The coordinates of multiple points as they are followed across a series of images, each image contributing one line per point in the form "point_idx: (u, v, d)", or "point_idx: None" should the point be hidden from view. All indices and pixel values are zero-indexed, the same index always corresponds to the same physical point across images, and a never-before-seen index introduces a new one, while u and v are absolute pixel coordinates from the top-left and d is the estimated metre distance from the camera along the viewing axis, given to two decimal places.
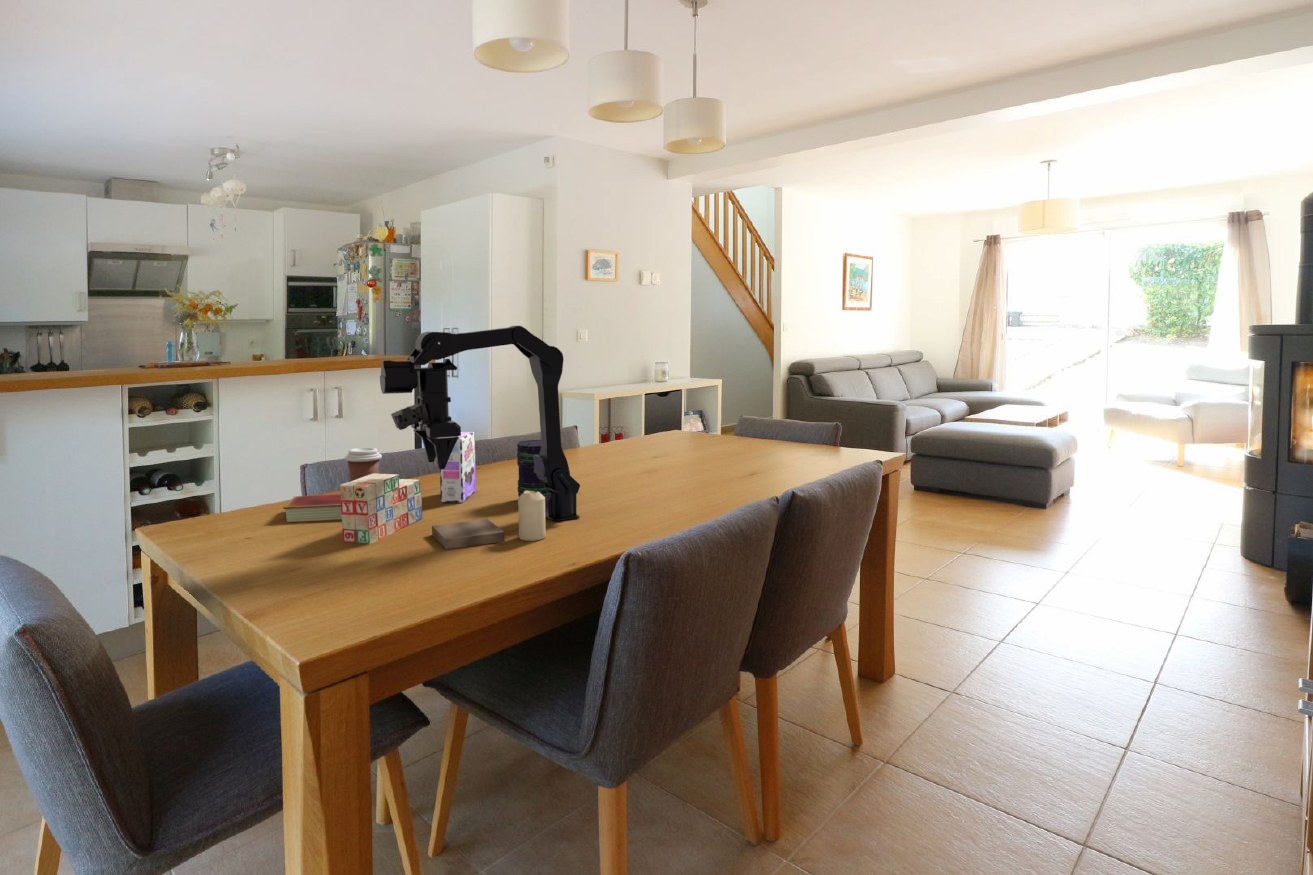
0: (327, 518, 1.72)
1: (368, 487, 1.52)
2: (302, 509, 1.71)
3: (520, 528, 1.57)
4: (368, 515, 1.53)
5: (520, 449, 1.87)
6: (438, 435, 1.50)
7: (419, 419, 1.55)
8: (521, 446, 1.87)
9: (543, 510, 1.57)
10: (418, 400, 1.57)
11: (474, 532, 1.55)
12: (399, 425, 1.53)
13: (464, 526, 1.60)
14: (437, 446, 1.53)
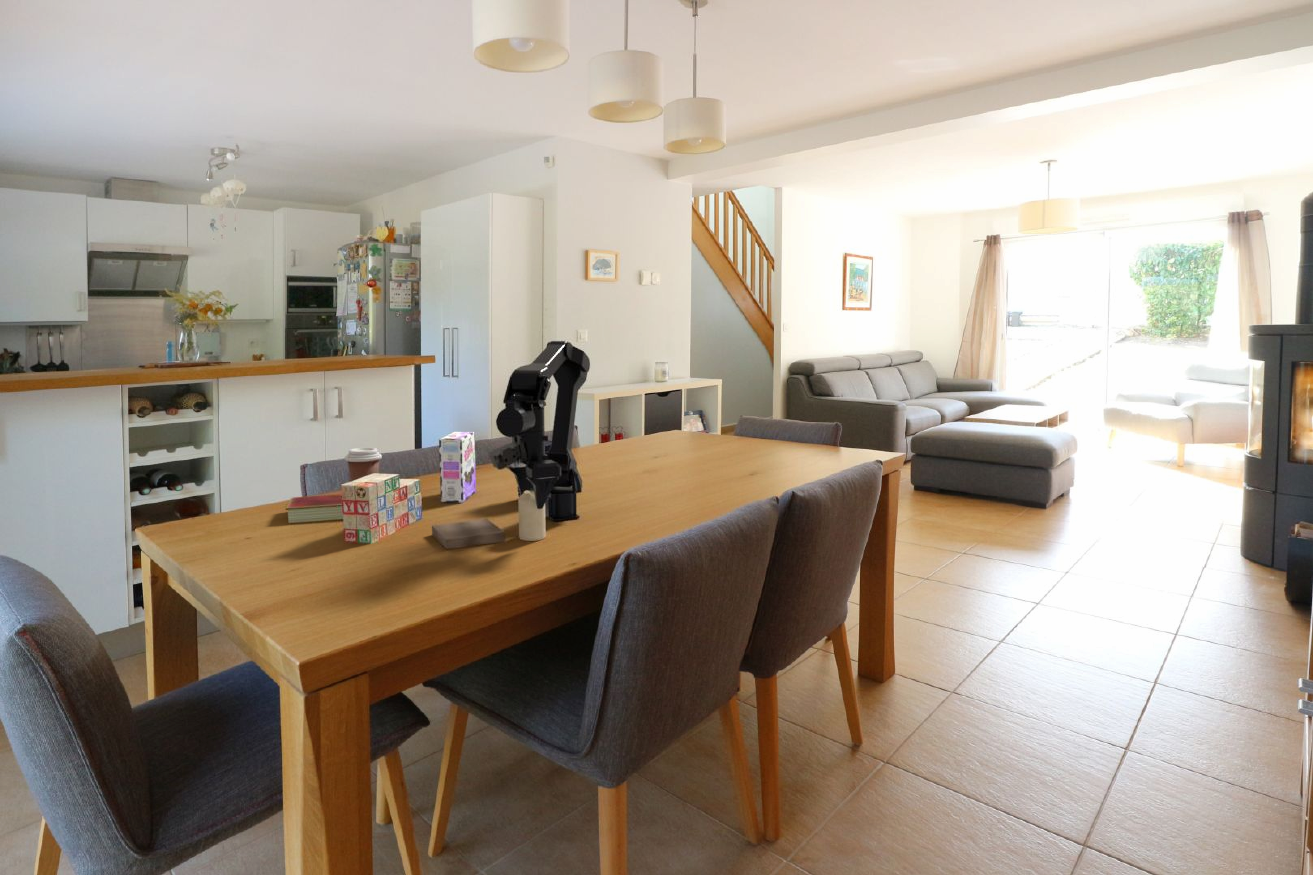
0: (330, 518, 1.72)
1: (369, 487, 1.52)
2: (304, 510, 1.70)
3: (520, 528, 1.57)
4: (369, 514, 1.53)
5: None
6: (540, 476, 1.48)
7: (517, 458, 1.53)
8: None
9: (543, 510, 1.57)
10: (515, 438, 1.55)
11: (474, 532, 1.55)
12: (498, 465, 1.51)
13: (464, 526, 1.60)
14: (537, 486, 1.51)
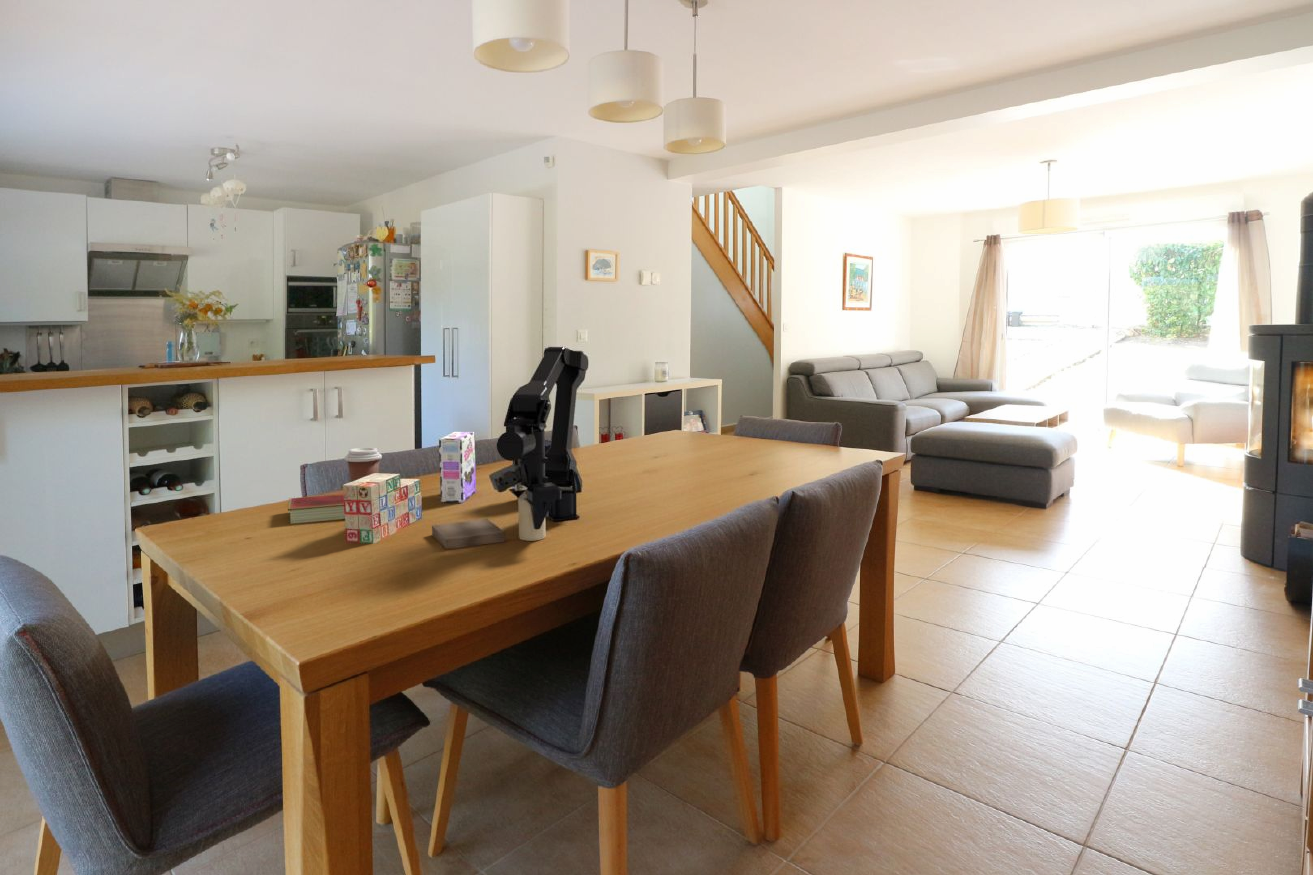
0: (332, 518, 1.72)
1: (372, 487, 1.53)
2: (306, 510, 1.70)
3: (520, 528, 1.57)
4: (371, 514, 1.53)
5: None
6: (540, 499, 1.49)
7: (518, 481, 1.53)
8: None
9: None
10: (515, 461, 1.56)
11: (474, 532, 1.55)
12: (499, 488, 1.52)
13: (464, 526, 1.60)
14: (534, 507, 1.53)
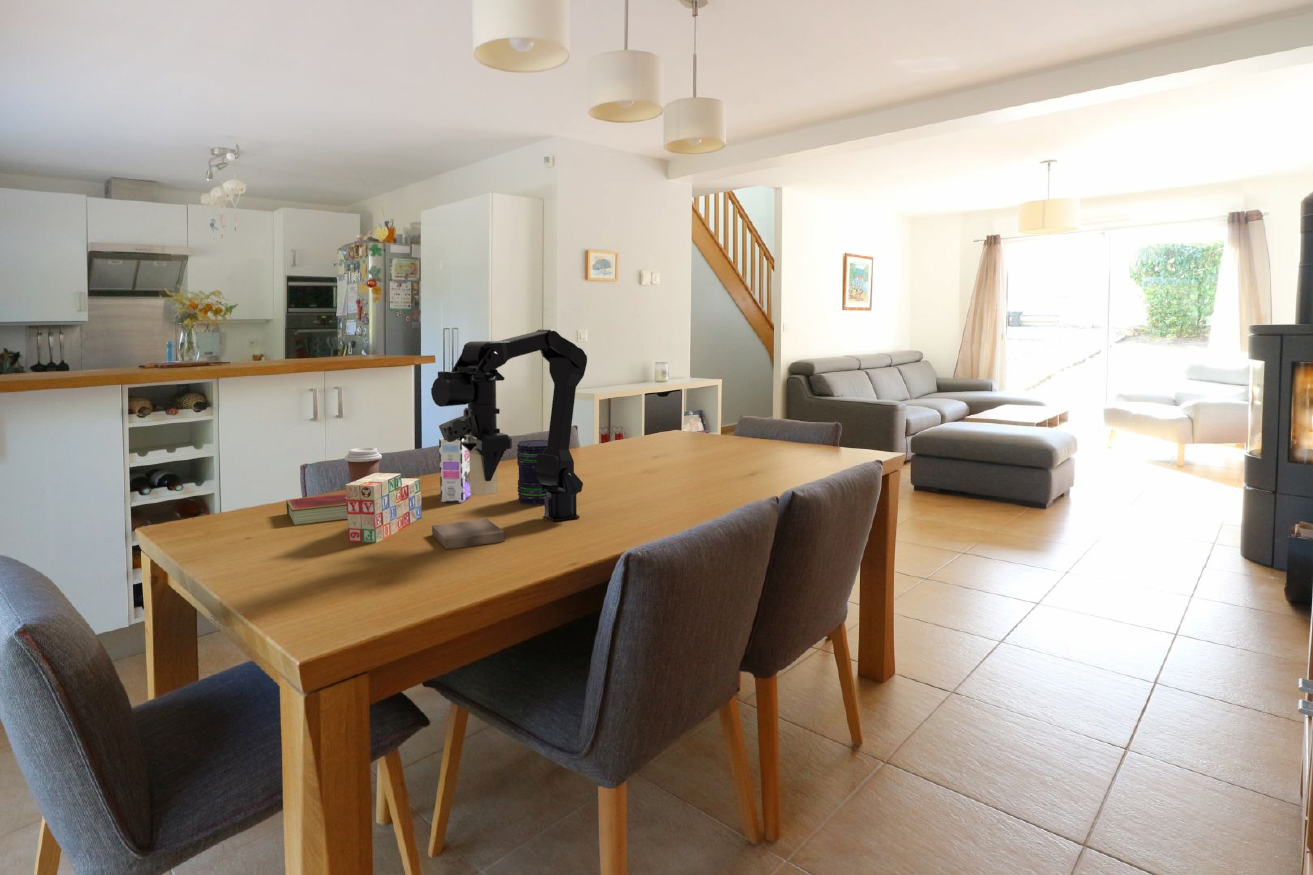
0: (335, 518, 1.72)
1: (374, 486, 1.53)
2: (310, 511, 1.69)
3: (471, 483, 1.55)
4: (374, 514, 1.53)
5: (520, 449, 1.87)
6: (490, 448, 1.46)
7: (468, 431, 1.51)
8: (521, 446, 1.87)
9: None
10: (466, 411, 1.53)
11: (474, 532, 1.55)
12: (448, 437, 1.49)
13: (464, 526, 1.60)
14: (485, 458, 1.51)
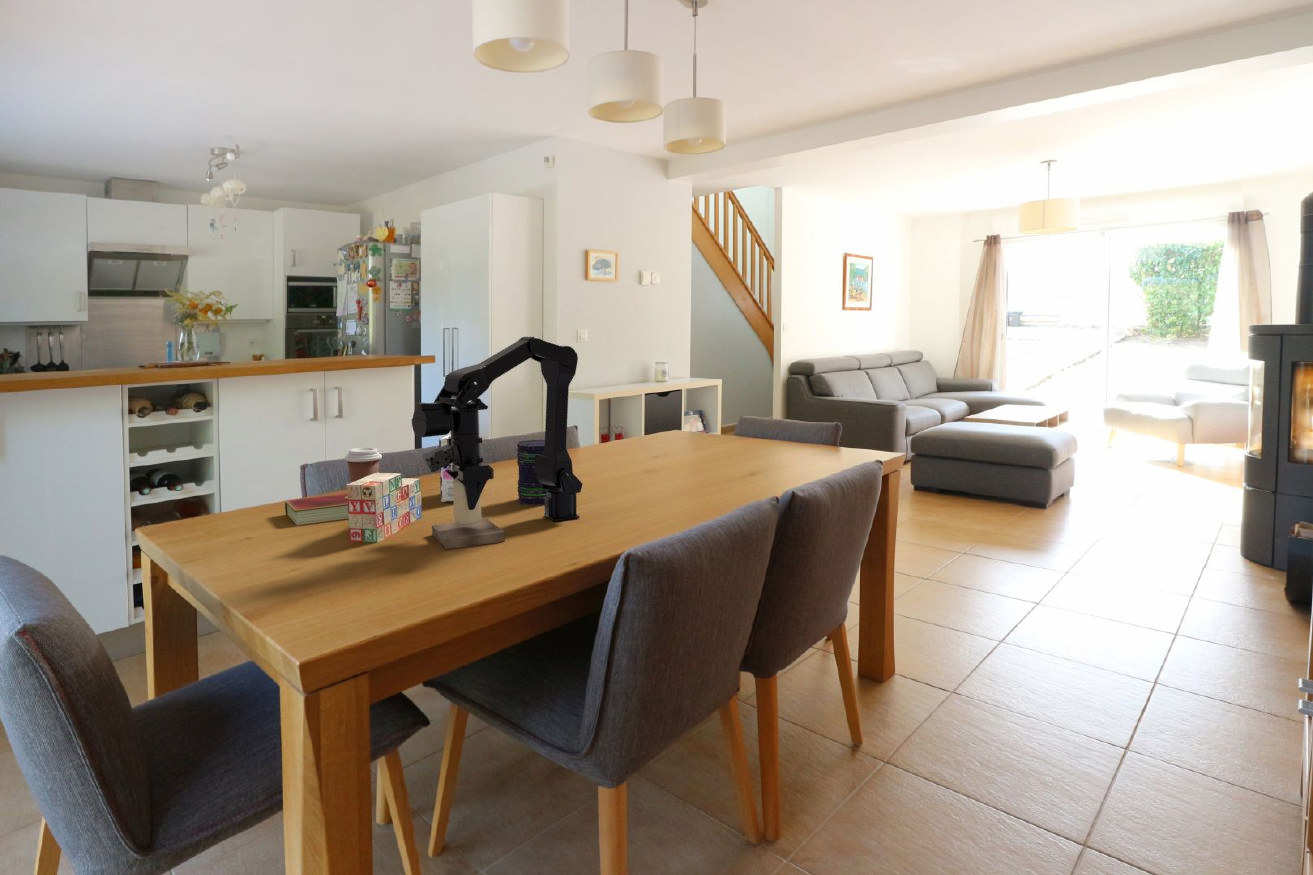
0: (338, 518, 1.72)
1: (376, 486, 1.53)
2: (313, 511, 1.69)
3: (455, 511, 1.56)
4: (376, 513, 1.54)
5: (520, 449, 1.87)
6: (471, 478, 1.47)
7: (451, 461, 1.52)
8: (521, 446, 1.87)
9: None
10: (449, 441, 1.55)
11: (474, 532, 1.55)
12: (431, 468, 1.50)
13: (464, 526, 1.60)
14: (467, 487, 1.52)
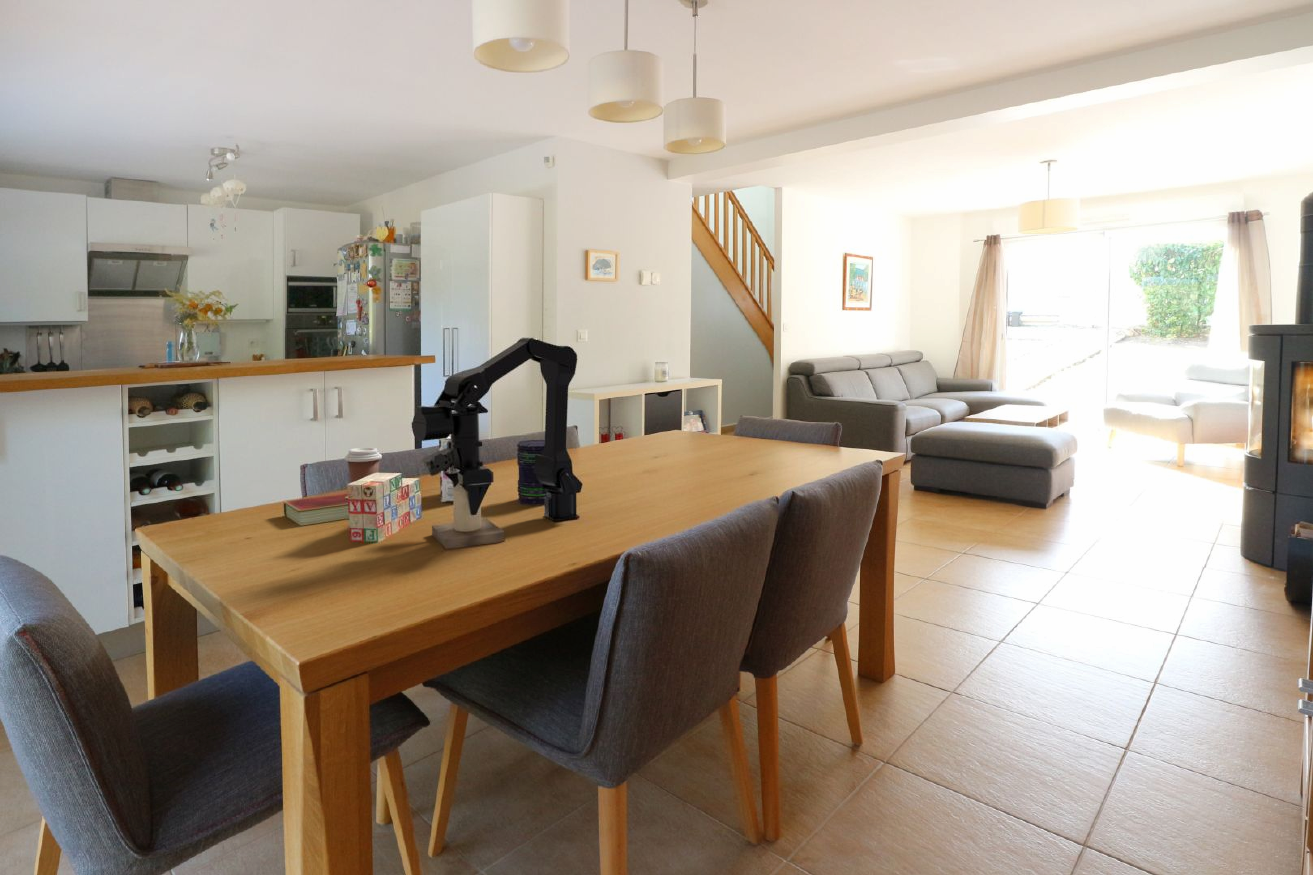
0: (340, 518, 1.73)
1: (376, 486, 1.53)
2: (316, 511, 1.69)
3: (455, 519, 1.56)
4: (376, 513, 1.54)
5: (520, 449, 1.87)
6: (471, 482, 1.47)
7: (450, 464, 1.52)
8: (521, 446, 1.87)
9: None
10: (449, 444, 1.55)
11: (474, 532, 1.55)
12: (430, 471, 1.51)
13: None
14: (469, 492, 1.51)
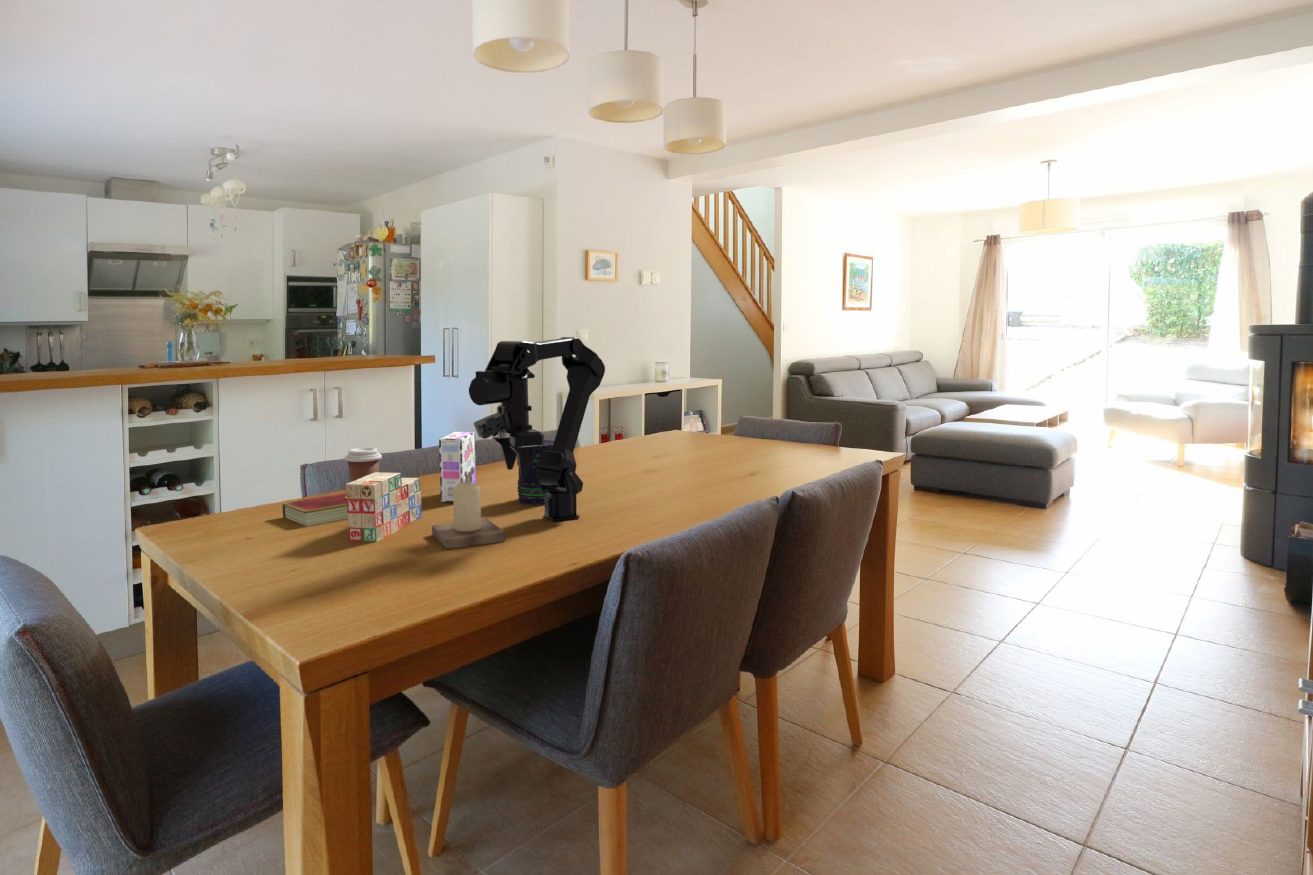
0: (344, 517, 1.73)
1: (375, 485, 1.54)
2: (321, 511, 1.69)
3: (455, 519, 1.56)
4: (375, 513, 1.54)
5: None
6: (523, 444, 1.52)
7: (502, 428, 1.56)
8: None
9: (478, 501, 1.56)
10: (499, 409, 1.59)
11: (474, 532, 1.55)
12: (483, 434, 1.55)
13: None
14: (520, 455, 1.55)
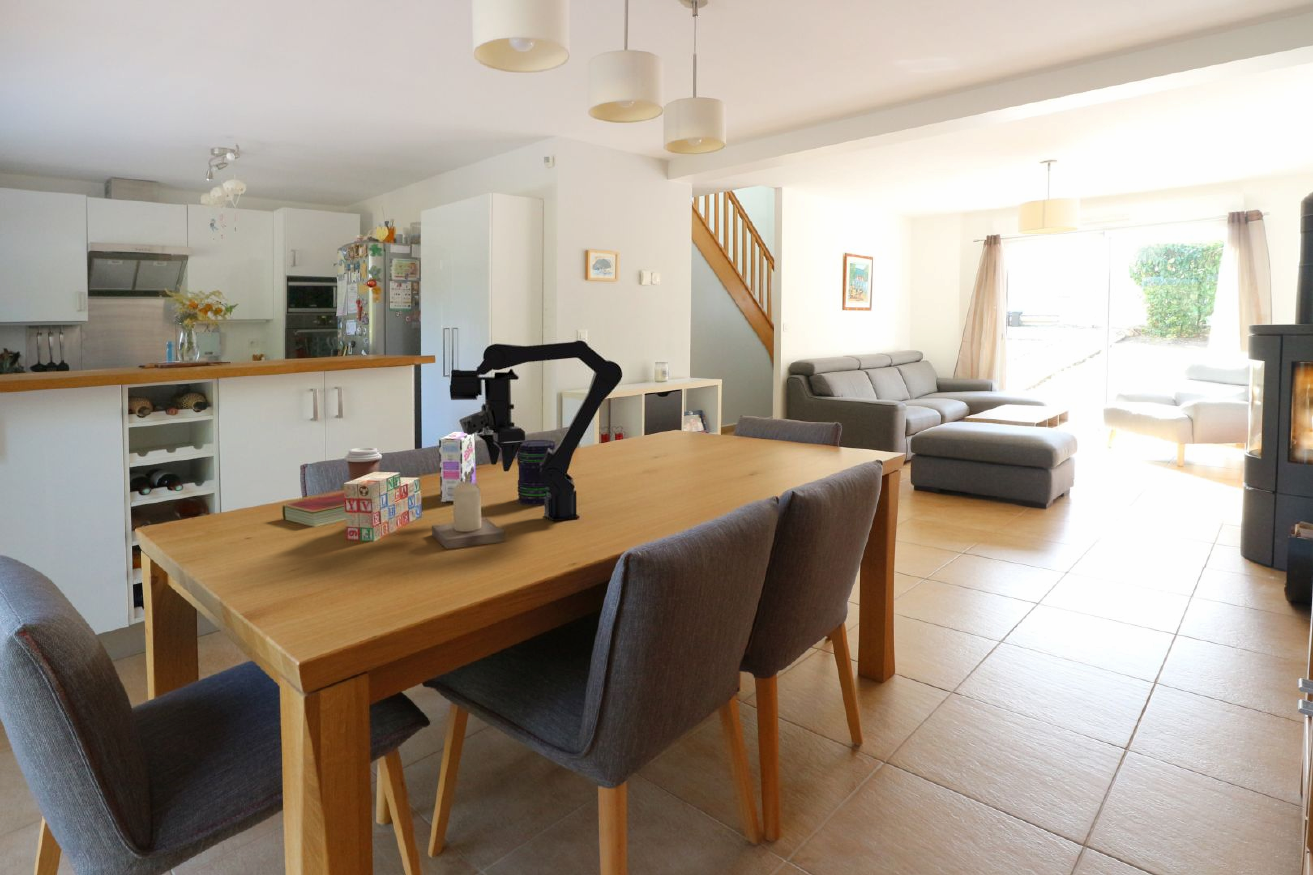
0: None
1: (372, 485, 1.54)
2: (327, 511, 1.69)
3: (455, 519, 1.56)
4: (372, 512, 1.55)
5: (520, 449, 1.87)
6: (505, 440, 1.62)
7: (485, 425, 1.67)
8: (521, 446, 1.87)
9: (478, 501, 1.56)
10: (484, 407, 1.69)
11: (474, 532, 1.55)
12: (468, 430, 1.65)
13: None
14: (503, 450, 1.65)
